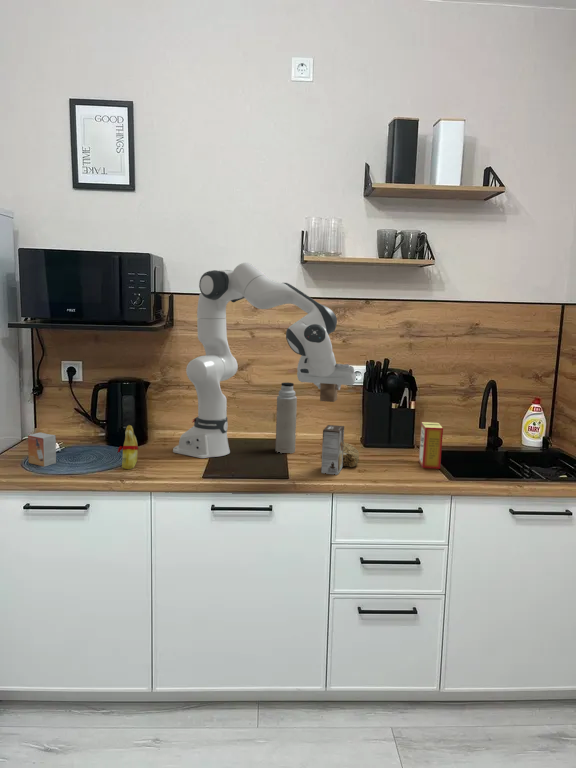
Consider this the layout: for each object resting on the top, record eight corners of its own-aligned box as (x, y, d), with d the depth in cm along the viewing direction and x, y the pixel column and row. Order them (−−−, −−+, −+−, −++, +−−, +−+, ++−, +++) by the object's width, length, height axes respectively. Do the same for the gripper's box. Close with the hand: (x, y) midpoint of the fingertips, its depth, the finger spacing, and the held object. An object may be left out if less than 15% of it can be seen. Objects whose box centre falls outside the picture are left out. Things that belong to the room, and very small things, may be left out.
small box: (28, 463, 208) (27, 435, 206) (40, 459, 213) (39, 431, 211) (44, 467, 204) (43, 438, 203) (56, 463, 209) (55, 434, 208)
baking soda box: (440, 468, 217) (443, 427, 215) (422, 467, 218) (425, 426, 215) (435, 461, 226) (438, 421, 224) (418, 460, 227) (421, 420, 224)
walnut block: (320, 401, 205) (320, 378, 204) (323, 398, 210) (324, 376, 209) (333, 402, 204) (334, 379, 202) (337, 399, 208) (337, 377, 207)
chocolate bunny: (140, 461, 215) (139, 421, 212) (134, 470, 204) (134, 428, 202) (121, 461, 214) (120, 421, 212) (114, 470, 203) (114, 428, 201)
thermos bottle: (272, 451, 233) (273, 383, 228) (280, 447, 240) (282, 380, 235) (289, 454, 229) (292, 385, 225) (298, 450, 236) (300, 382, 232)
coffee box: (325, 466, 216) (327, 424, 213) (342, 468, 214) (344, 425, 212) (320, 473, 207) (322, 429, 205) (338, 475, 206) (340, 431, 203)
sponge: (361, 471, 215) (358, 447, 234) (358, 453, 212) (355, 429, 231) (326, 475, 217) (326, 451, 235) (323, 457, 214) (323, 433, 232)
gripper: (354, 357, 195) (359, 382, 205) (296, 355, 201) (304, 379, 212) (351, 372, 191) (356, 397, 202) (292, 369, 197) (300, 393, 208)
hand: (329, 388), depth 207 cm, fingers closed on walnut block, 5 cm apart
